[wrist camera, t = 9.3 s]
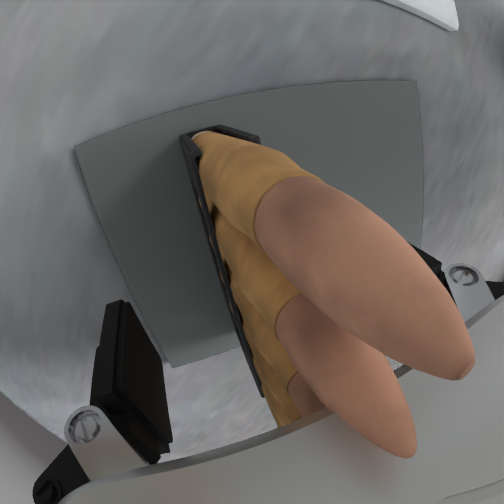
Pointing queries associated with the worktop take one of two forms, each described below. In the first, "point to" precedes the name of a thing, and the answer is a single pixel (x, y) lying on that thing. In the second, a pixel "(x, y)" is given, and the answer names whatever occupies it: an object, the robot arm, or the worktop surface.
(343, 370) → the ammunition clip
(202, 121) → the mat
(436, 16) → the external hard drive
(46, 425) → the worktop surface
